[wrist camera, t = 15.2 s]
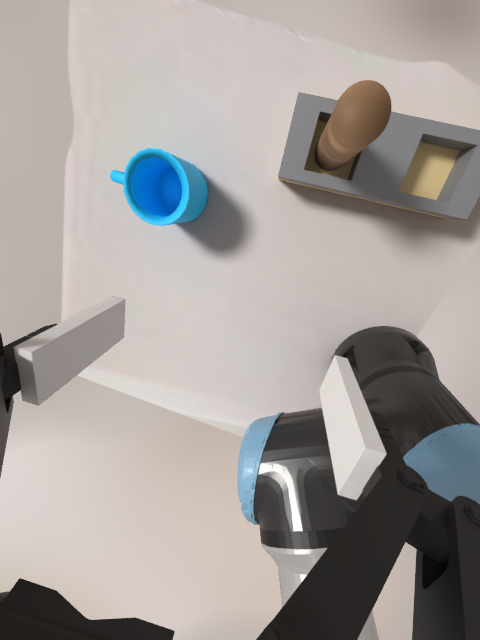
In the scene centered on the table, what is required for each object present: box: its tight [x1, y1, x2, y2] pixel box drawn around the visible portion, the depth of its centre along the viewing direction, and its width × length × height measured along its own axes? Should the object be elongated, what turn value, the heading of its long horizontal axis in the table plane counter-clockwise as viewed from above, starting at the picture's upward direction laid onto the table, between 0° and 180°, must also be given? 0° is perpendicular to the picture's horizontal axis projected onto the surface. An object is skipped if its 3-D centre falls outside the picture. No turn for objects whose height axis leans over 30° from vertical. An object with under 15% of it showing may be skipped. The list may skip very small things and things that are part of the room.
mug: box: [110, 148, 208, 226], centre depth 35 cm, size 12×8×8 cm
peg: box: [315, 80, 391, 171], centre depth 26 cm, size 4×4×14 cm
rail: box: [278, 92, 480, 220], centre depth 31 cm, size 22×8×5 cm, turn 78°
